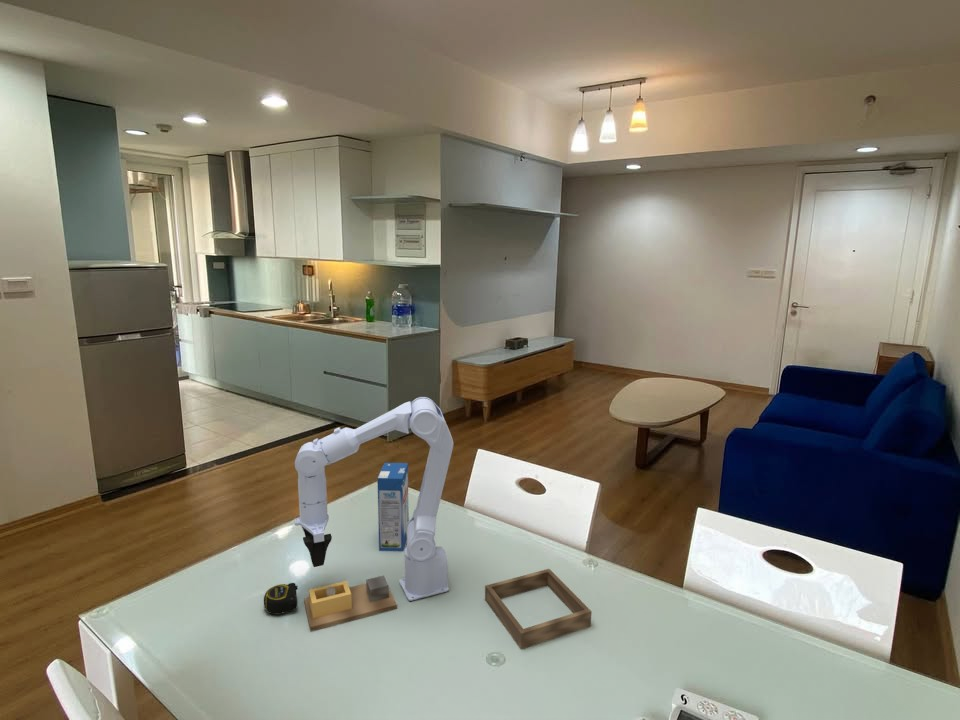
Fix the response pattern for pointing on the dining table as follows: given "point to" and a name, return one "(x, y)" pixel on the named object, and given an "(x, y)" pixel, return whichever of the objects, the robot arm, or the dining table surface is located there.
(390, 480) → the milk carton
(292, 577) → the dining table surface
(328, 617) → the board
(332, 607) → the link
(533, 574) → the frame
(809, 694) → the dining table surface
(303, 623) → the dining table surface
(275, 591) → the tape measure
